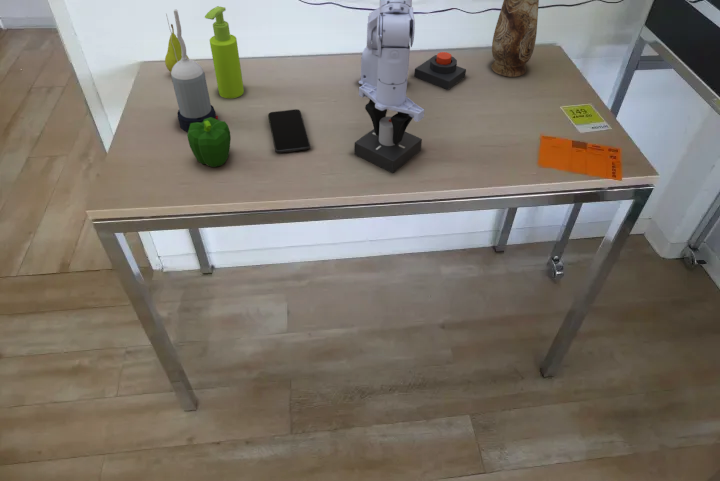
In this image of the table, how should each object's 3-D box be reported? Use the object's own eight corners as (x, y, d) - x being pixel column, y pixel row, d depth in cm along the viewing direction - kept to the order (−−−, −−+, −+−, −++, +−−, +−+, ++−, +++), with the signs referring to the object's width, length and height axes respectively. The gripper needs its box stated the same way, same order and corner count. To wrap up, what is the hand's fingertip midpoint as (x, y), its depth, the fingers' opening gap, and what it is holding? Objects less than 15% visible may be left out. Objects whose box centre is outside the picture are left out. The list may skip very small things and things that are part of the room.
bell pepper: (195, 148, 118) (186, 106, 111) (235, 147, 118) (228, 105, 111) (190, 173, 112) (179, 130, 105) (231, 171, 112) (224, 129, 105)
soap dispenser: (211, 97, 132) (195, 13, 118) (227, 83, 137) (213, 1, 123) (233, 102, 131) (219, 18, 117) (248, 88, 135) (237, 5, 121)
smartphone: (311, 150, 118) (300, 111, 128) (310, 146, 117) (300, 108, 128) (275, 154, 117) (267, 115, 127) (275, 151, 116) (267, 111, 126)
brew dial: (390, 148, 114) (391, 128, 110) (374, 141, 116) (375, 121, 112) (402, 139, 116) (403, 119, 113) (386, 132, 118) (387, 112, 114)
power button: (433, 62, 139) (434, 55, 137) (441, 57, 141) (442, 50, 139) (445, 67, 137) (446, 60, 136) (453, 61, 139) (454, 55, 138)
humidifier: (223, 126, 124) (202, 13, 106) (187, 136, 121) (159, 23, 103) (209, 108, 129) (187, -2, 111) (174, 118, 126) (146, 7, 108)
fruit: (173, 82, 137) (161, 35, 128) (165, 72, 140) (153, 25, 132) (195, 76, 139) (186, 29, 130) (187, 66, 142) (177, 20, 134)
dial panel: (354, 154, 117) (354, 141, 115) (383, 133, 123) (383, 121, 121) (392, 173, 113) (393, 160, 111) (420, 150, 119) (422, 138, 116)
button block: (414, 76, 141) (415, 61, 138) (432, 64, 145) (433, 49, 143) (448, 89, 136) (450, 74, 134) (465, 76, 141) (468, 62, 138)
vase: (532, 79, 141) (564, -49, 120) (489, 78, 141) (514, -50, 120) (523, 59, 148) (553, -65, 127) (483, 58, 148) (506, -66, 127)
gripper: (349, 72, 107) (348, 132, 116) (411, 99, 100) (405, 160, 110) (372, 59, 111) (370, 118, 120) (433, 83, 104) (426, 144, 114)
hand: (388, 137), depth 115 cm, fingers closed on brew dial, 4 cm apart
